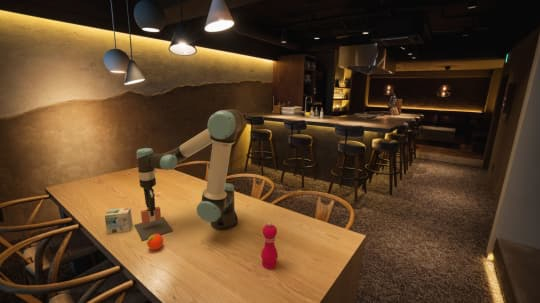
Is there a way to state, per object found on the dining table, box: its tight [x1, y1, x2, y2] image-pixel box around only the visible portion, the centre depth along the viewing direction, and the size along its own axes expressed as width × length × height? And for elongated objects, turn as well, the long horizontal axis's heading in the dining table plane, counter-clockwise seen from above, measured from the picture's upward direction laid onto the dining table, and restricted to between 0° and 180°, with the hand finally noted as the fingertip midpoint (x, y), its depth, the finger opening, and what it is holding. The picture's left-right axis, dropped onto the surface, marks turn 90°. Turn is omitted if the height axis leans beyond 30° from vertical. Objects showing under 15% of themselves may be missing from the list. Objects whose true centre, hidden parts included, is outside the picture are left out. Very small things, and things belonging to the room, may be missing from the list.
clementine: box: [145, 234, 164, 251], centre depth 115 cm, size 8×7×7 cm
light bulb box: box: [104, 207, 134, 235], centre depth 130 cm, size 11×7×11 cm, turn 105°
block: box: [140, 206, 162, 224], centre depth 132 cm, size 2×9×6 cm, turn 128°
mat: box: [133, 216, 174, 242], centre depth 133 cm, size 18×15×1 cm
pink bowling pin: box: [260, 221, 279, 270], centre depth 104 cm, size 7×7×20 cm
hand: (151, 219), depth 132 cm, fingers closed on block, 2 cm apart
